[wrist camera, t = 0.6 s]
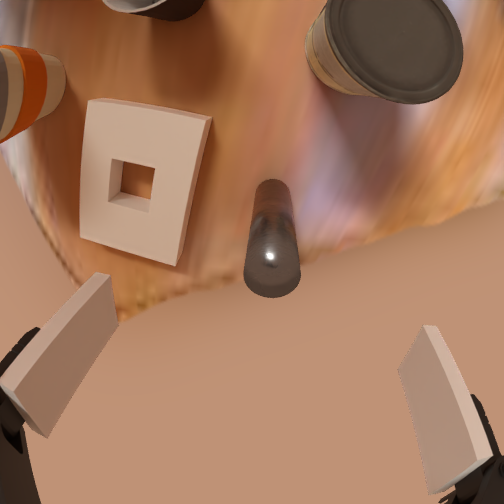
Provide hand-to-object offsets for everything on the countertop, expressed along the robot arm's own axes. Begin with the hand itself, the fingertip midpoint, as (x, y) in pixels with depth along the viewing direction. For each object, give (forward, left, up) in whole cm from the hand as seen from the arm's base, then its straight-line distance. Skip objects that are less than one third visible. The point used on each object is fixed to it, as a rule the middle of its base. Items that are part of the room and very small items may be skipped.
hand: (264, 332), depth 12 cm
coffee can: (-16, +4, -25) cm, 30 cm away
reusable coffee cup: (-5, -33, -25) cm, 42 cm away
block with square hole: (+5, -15, -25) cm, 29 cm away
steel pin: (+3, +1, -25) cm, 25 cm away
